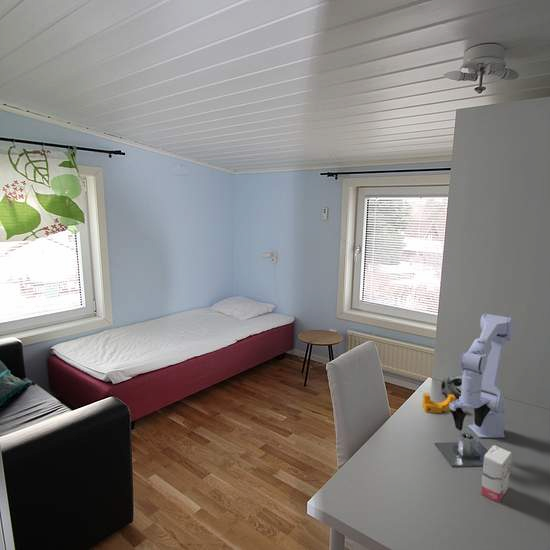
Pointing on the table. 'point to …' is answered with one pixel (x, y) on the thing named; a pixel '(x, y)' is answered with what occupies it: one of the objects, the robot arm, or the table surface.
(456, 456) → the grey square base plate
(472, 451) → the tube
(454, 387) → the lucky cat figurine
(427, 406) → the yellow curved piece
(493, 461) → the ink box
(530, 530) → the table surface
